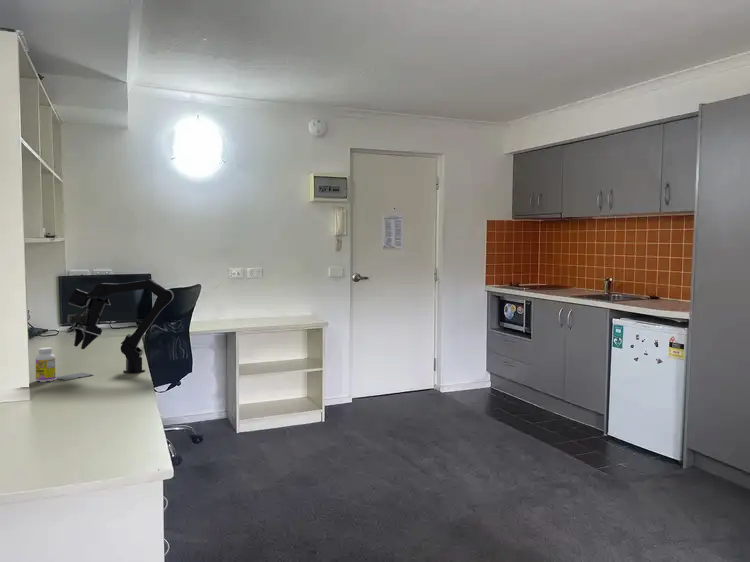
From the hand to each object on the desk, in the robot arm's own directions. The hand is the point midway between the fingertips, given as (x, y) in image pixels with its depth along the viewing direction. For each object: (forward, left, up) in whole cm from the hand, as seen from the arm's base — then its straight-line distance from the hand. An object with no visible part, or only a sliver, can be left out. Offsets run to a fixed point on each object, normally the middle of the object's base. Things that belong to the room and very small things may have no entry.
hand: (78, 347), depth 229 cm
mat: (-1, +3, -11) cm, 12 cm away
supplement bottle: (+1, +13, -12) cm, 17 cm away
